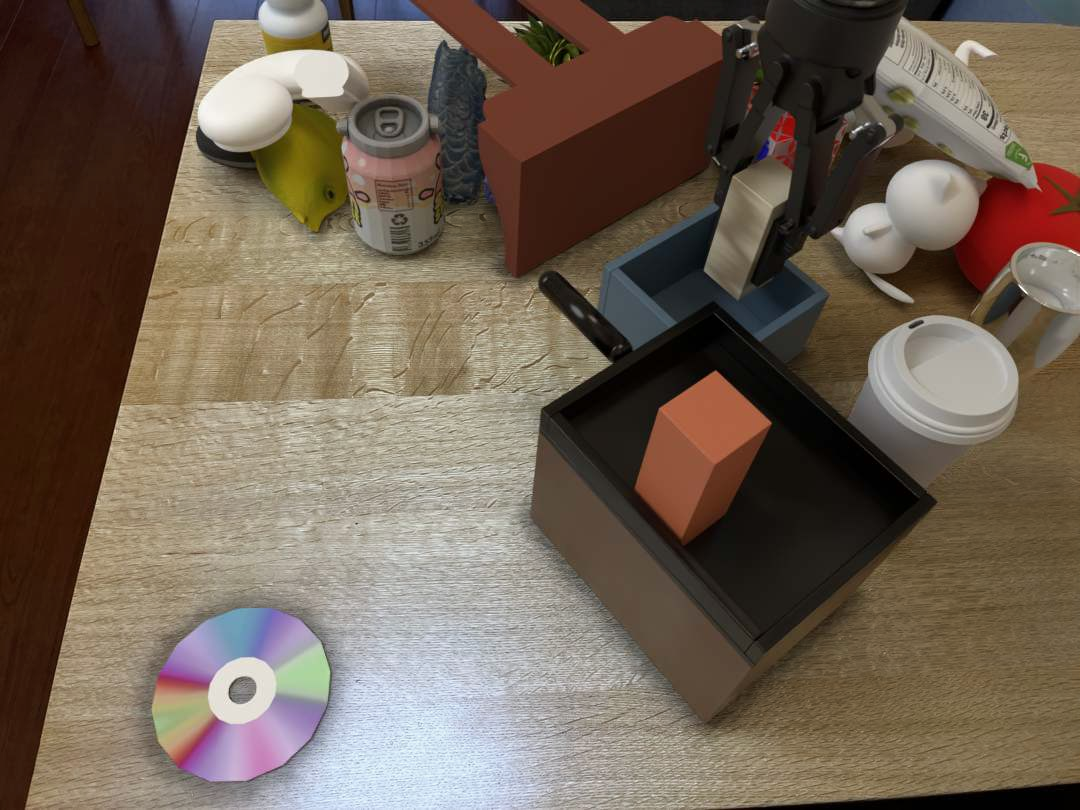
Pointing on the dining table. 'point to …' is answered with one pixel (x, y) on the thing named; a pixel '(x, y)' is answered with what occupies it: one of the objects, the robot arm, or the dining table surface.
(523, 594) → the dining table surface
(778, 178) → the cream block
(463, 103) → the fish model
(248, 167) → the computer mouse
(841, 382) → the dining table surface
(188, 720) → the cd
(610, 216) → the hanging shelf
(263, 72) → the sculpture
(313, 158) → the fish
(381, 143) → the beverage can
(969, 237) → the tomato
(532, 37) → the potted plant
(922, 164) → the cat figurine
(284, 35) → the pill bottle
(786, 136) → the red white patterned box
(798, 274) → the bin
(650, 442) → the terracotta block
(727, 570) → the pan
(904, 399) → the coffee cup
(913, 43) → the frozen beans
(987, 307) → the metal tumbler
